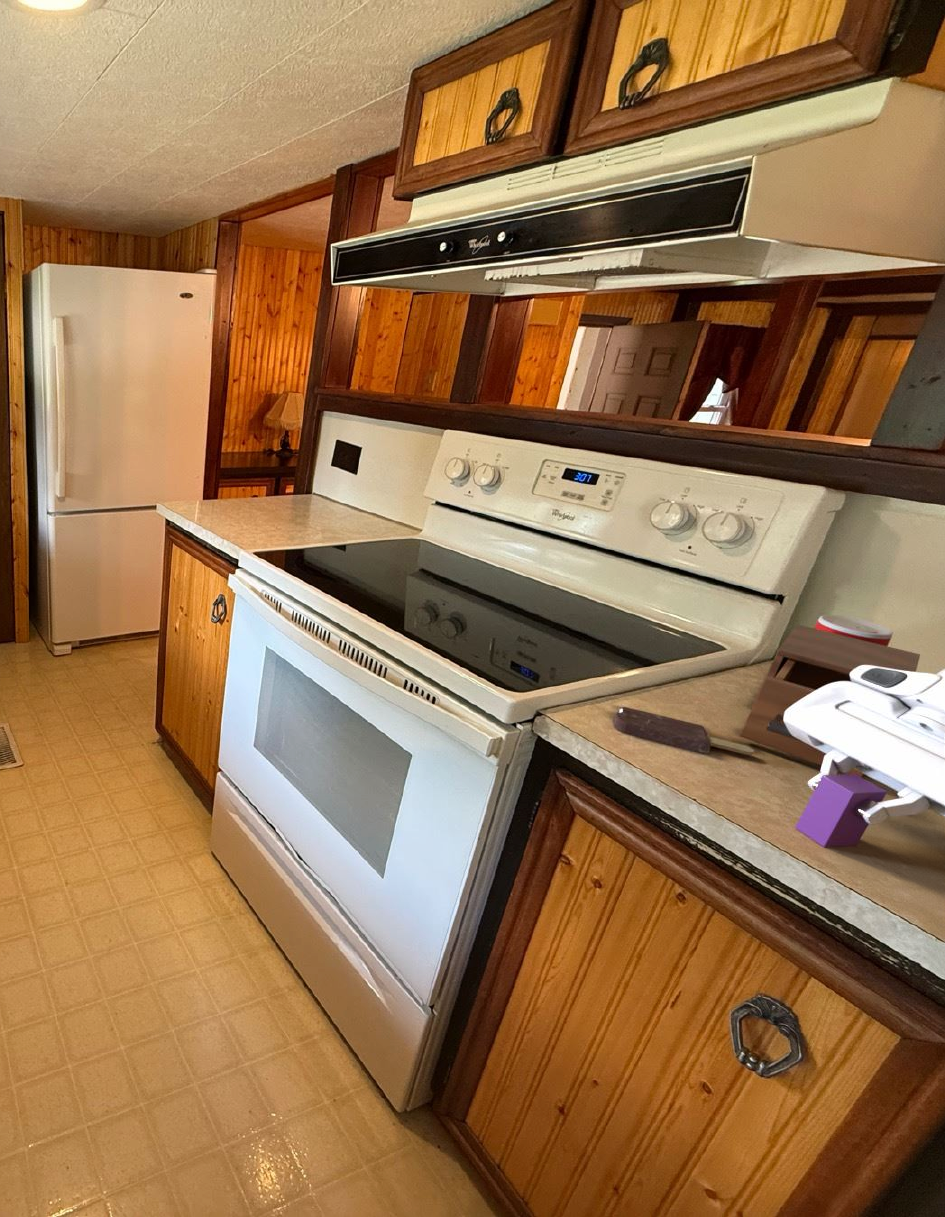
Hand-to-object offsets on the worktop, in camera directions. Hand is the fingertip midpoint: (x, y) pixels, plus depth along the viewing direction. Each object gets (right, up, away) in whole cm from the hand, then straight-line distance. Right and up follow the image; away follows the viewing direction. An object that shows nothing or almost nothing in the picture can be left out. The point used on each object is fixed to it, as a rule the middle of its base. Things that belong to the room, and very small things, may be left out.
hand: (837, 803), depth 69 cm
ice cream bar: (-1, +3, +19) cm, 19 cm away
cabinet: (+25, +5, +26) cm, 36 cm away
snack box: (0, -4, +2) cm, 4 cm away
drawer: (+14, +3, +17) cm, 23 cm away
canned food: (+36, +8, +35) cm, 50 cm away
